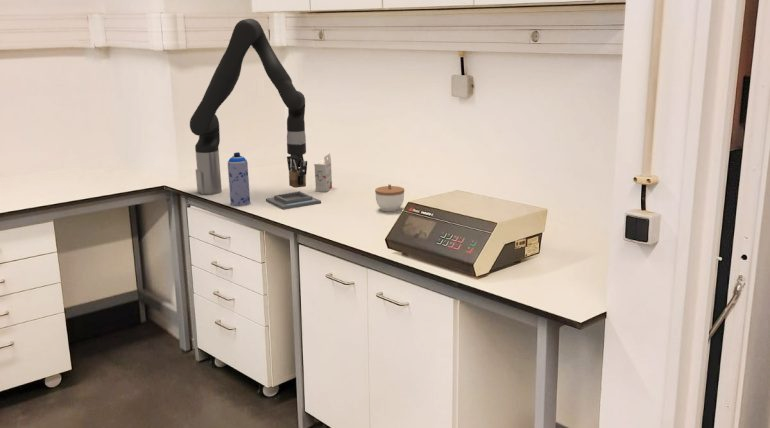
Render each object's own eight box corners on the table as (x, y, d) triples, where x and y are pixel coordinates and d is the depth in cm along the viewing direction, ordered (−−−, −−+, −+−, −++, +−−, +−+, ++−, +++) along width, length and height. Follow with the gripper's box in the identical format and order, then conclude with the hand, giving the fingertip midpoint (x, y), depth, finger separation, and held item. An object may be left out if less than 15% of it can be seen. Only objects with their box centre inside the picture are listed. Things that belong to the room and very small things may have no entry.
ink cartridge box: (321, 187, 302) (319, 152, 299) (332, 187, 301) (331, 153, 298) (315, 191, 294) (313, 156, 290) (326, 192, 293) (325, 156, 289)
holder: (283, 209, 267) (282, 203, 266) (265, 201, 280) (265, 195, 279) (321, 203, 275) (320, 196, 275) (302, 195, 288) (302, 189, 288)
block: (294, 187, 287) (294, 173, 285) (289, 185, 291) (288, 171, 289) (305, 186, 289) (305, 171, 288) (300, 184, 293) (300, 169, 292)
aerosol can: (239, 200, 282) (235, 150, 277) (254, 202, 278) (251, 151, 273) (225, 205, 275) (221, 153, 270) (241, 207, 271) (237, 155, 266)
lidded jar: (398, 214, 257) (397, 189, 255) (370, 211, 261) (370, 186, 259) (408, 207, 267) (408, 182, 264) (382, 205, 271) (381, 180, 269)
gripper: (280, 140, 289) (281, 181, 294) (295, 145, 278) (297, 188, 282) (296, 138, 293) (298, 179, 298) (313, 143, 282) (314, 185, 286)
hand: (297, 183), depth 290 cm, fingers closed on block, 5 cm apart
